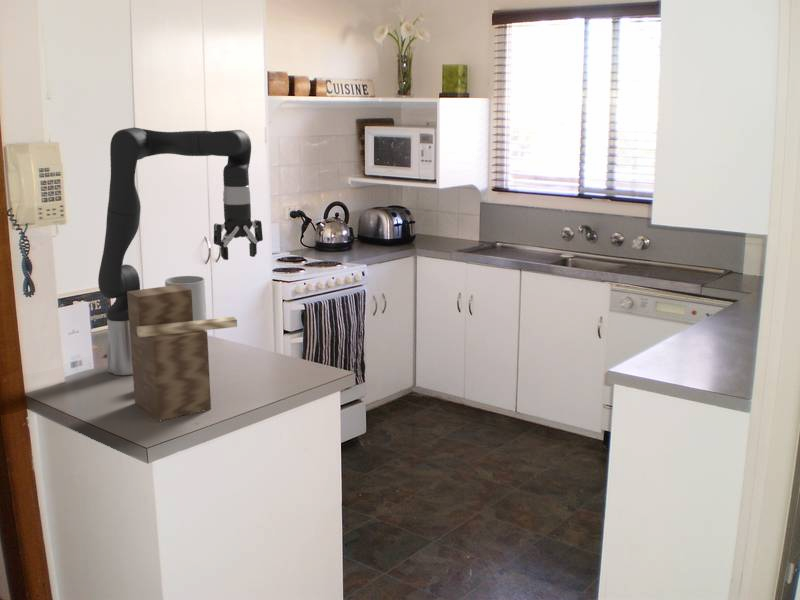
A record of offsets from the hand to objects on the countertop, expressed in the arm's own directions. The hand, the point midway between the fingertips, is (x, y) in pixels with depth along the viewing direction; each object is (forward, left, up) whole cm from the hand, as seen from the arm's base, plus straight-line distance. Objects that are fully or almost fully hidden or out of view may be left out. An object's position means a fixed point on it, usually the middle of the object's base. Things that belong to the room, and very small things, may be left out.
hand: (239, 257), depth 246 cm
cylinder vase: (-30, +24, -38) cm, 54 cm away
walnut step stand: (-12, -23, -38) cm, 46 cm away
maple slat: (-6, -22, -16) cm, 28 cm away
